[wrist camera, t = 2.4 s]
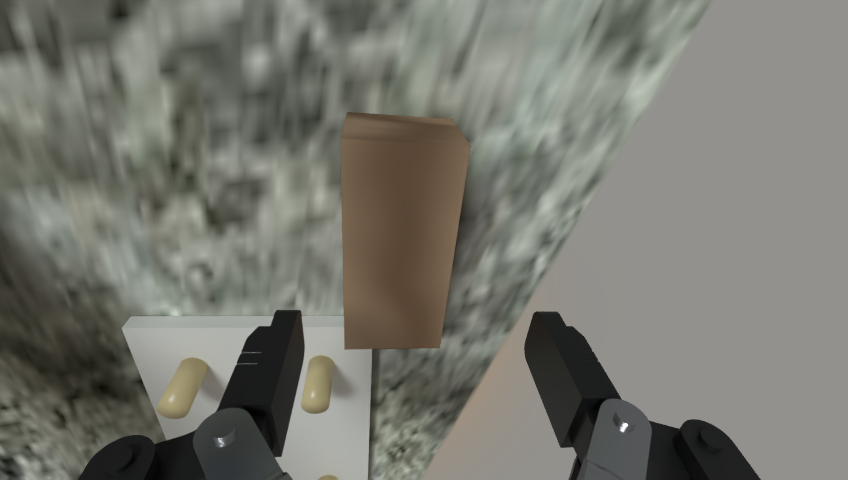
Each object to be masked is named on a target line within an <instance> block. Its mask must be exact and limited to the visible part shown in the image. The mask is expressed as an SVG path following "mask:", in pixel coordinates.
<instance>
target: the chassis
mask: <svg viewBox="0 0 848 480" xmlns="http://www.w3.org/2000/svg"><path fill="white" fill-rule="evenodd" d="M273 317H274V316H131V317H130V318H129V319H128V321H127V322H126V323H125V325H124V326H123V327H122V331H123V333H124V336H125V338H126V341H127V343H128V346H129V348H130V351H131V353H132V356H133V358H134V361H135V363H136V366H137V368H138V371H139V373H140V376H141V378H142V381H143V383H144V386H145V388H146V391H147V393H148V396H149V398H150V401H151V403H152V406H153V408H154V410H155V413H156V415H157V418H158V420H159V423H160V425H161V428H162V430H163V433H164V435H165V438H166V440H170V439H173V438H176V437H180V436H183V435H186V434H188V433H190V432H193V431H195V430H196V429H197V428H198V427H199V425H200V424H201V423H202V422H203V421H204V420H205V419H206V418H207V417H209V416H210V415H212V414H213V413H215V412H216V410H217V408H218V407H219V404H220V402H221V399H222V397H223V394H224V392H225V390H226V387H227V385H228V382H229V380H230V378H231V375H232V373H233V370H234V368H235V366H236V365H237V361H238V358H239V356H240V354H241V351H242V349H243V346H244V344H245V341H246V339H247V337H248V336H249V335H250V334H251V333H252V332H253V331H254V330H255V329H256V328H257V327H258V326H270V325H271V323H272V320H273ZM302 324H303V333H304V343H305V352H304V361H303V366H302V370H301V374H300V379H299V383H298V387H297V392H296V396H295V401H294V405H293V409H292V414H291V418H290V422H289V427H288V431H287V435H286V440H285V444H284V449H283V453H282V457H275V459H276V461H277V462H278V464H279V466H280V468H281V469H282V471H283V472H284V473H285V472H287V473H288V474H289V475H290V476H291V478H292V479H293V480H368V457H369V428H370V399H371V369H372V349H350V350H344V316H302Z"/></svg>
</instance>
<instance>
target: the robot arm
mask: <svg viewBox="0 0 848 480" xmlns="http://www.w3.org/2000/svg"><path fill="white" fill-rule="evenodd" d="M524 349H525V358H526V361H527V364H528V366H529V369H530V371H531V374H532V376H533V379H534V381H535V384H536V387H537V389H538V392H539V394H540V396H541V399H542V402H543V404H544V407H545V409H546V412H547V414H548V416H549V419H550V422H551V425H552V427H553V429H554V432H555V435H556V437H557V440H558V442H559V445H560V447H561V448H564V447H574V449H575V452H576V454H577V456H576V458H575V460H574V463H573V467H572V470H571V474H570V477H569V480H761V479H760V478H759V477H758V475H757V474H756V473H755V471H754V470H753V469H752V467H751V466H750V464H749V463H748V462H747V460H746V459H745V458H744V456H743V455H742V453H741V452H740V451H739V450H738V448H737V447H736V445H735V444H734V443H733V441H732V440H731V439H730V438H729V437H728V436H727V435H726V434H725V433H724V432H723V431H721V430H720V429H718V428H717V427H715V426H714V425H712V424H709V423H707V422H705V421H701V420H693V419H692V420H687V421H686V422H684V423H683V425H682V426H681V428H680V429H678V428H674V427H670V426H667V425H663V424H659V423H655V422H652V421H649V420H648V419H647V417H646V416H645V414H644V413H643V412H642V411H641V410H639V409H638V408H637V407H635V406H634V405H632V404H631V403H629V402H627V401H624V400H622V399H621V397H620V396H619V394H618V393H617V391H616V389H615V387H614V386H613V384H612V382H611V381H610V379H609V378H608V376H607V374H606V372H605V371H604V369H603V367H602V366H601V364H600V362H598V359H597V358H596V356H595V354H594V352H592V349H591V347H590V346H589V344H588V342H587V340H586V339H585V337H584V336H583V335H582V334H580V333H579V332H578V331H577V330H576V329H575V328H574V327H572V326H566V325H565V323H564V321H563V319H562V318H561V316H560V314H559V313H558V312H535V313H534V314H533V317H532V320H531V324H530V327H529V331H528V334H527V337H526V341H525V347H524ZM304 352H305V343H304V333H303V324H302V315H301V311H300V310H277V311H276V312H275V314H274V317H273V320H272V323H271V325H270V326H258V327H257V328H256V329H255V330H254V331H253V332H252V333H251V334H250V335H249V336H248V337H247V339H246V341H245V344H244V346H243V349H242V351H241V354H240V356H239V358H238V361H237V365H236V366H235V368H234V370H233V373H232V375H231V378H230V380H229V382H228V385H227V387H226V390H225V392H224V394H223V397H222V399H221V402H220V404H219V407H218V408H217V410H216V412H215V413H213V414H212V415H210V416H209V417H207V418H206V419H205V420H204V421H203V422H202V423H201V424H200V425H199V427H198V428H197V429H196V430H195V431H193V432H190V433H188V434H186V435H183V436H180V437H176V438H173V439H170V440H167V441H163V442H160V443H157V444H154V443H153V442H152V440H151V439H149V438H148V437H145V436H141V435H132V436H127V437H123V438H120V439H118V440H116V441H114V442H112V443H110V444H108V445H107V446H105V447H104V448H103V449H101V450H100V451H99V452H98V453H97V454H96V455H95V456H94V457H93V458H92V459H91V460H90V461H89V463H88V464H87V466H86V467H85V469H84V471H83V473H82V474H81V476H80V478H79V479H78V480H293V479H292V478H291V476H290V475H289V474H288V473H287V472H285V473H284V472H283V471H282V469H281V468H280V466H279V464H278V462H277V461H276V459H275V457H282V453H283V449H284V444H285V440H286V435H287V431H288V427H289V422H290V418H291V414H292V409H293V405H294V401H295V396H296V392H297V387H298V383H299V379H300V374H301V370H302V366H303V361H304Z"/></svg>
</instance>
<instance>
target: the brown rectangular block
mask: <svg viewBox="0 0 848 480" xmlns="http://www.w3.org/2000/svg"><path fill="white" fill-rule="evenodd" d="M470 148H471V146H470V144H469V143H468V141H467V140H466V139H465V137H464V136H463V134H462V133H461V131H460V130H459V128H458V127H457V125H456V124H455V122H454V121H453V119H442V118H427V117H412V116H397V115H382V114H367V113H352V112H347V116H346V120H345V124H344V128H343V132H342V136H341V183H342V239H343V295H344V350H350V349H411V348H440V343H441V337H442V330H443V324H444V317H445V311H446V304H447V298H448V291H449V285H450V278H451V272H452V265H453V259H454V252H455V246H456V239H457V233H458V226H459V220H460V213H461V207H462V200H463V194H464V187H465V180H466V174H467V167H468V161H469V154H470Z"/></svg>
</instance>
